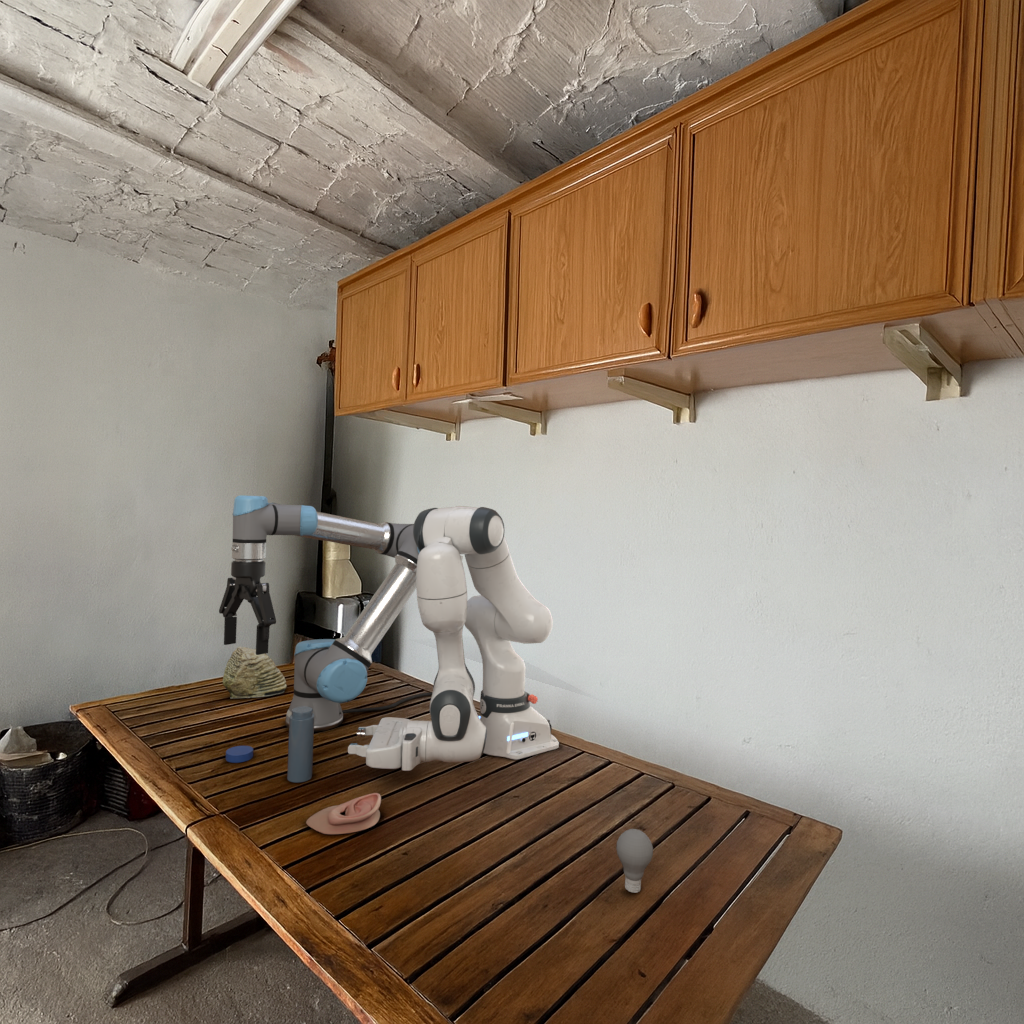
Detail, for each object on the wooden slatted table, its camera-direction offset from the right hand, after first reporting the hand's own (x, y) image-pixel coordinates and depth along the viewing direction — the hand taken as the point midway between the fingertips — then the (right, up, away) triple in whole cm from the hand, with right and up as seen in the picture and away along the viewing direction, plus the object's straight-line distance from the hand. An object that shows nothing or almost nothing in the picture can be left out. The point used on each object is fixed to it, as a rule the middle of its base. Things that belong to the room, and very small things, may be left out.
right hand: (353, 739), depth 143 cm
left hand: (-28, +19, +8) cm, 35 cm away
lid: (-29, -6, +8) cm, 31 cm away
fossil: (-45, -6, +55) cm, 71 cm away
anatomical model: (+3, -9, -19) cm, 21 cm away
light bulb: (+56, -12, -37) cm, 68 cm away
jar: (-12, -8, -1) cm, 14 cm away
